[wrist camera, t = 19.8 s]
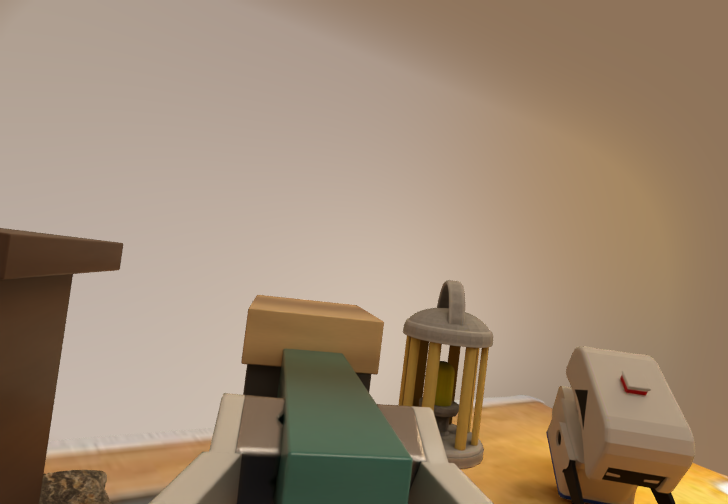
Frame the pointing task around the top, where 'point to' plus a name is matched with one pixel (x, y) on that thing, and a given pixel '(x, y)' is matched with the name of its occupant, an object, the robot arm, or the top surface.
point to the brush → (325, 402)
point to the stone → (74, 487)
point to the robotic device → (617, 430)
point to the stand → (35, 345)
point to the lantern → (447, 371)
